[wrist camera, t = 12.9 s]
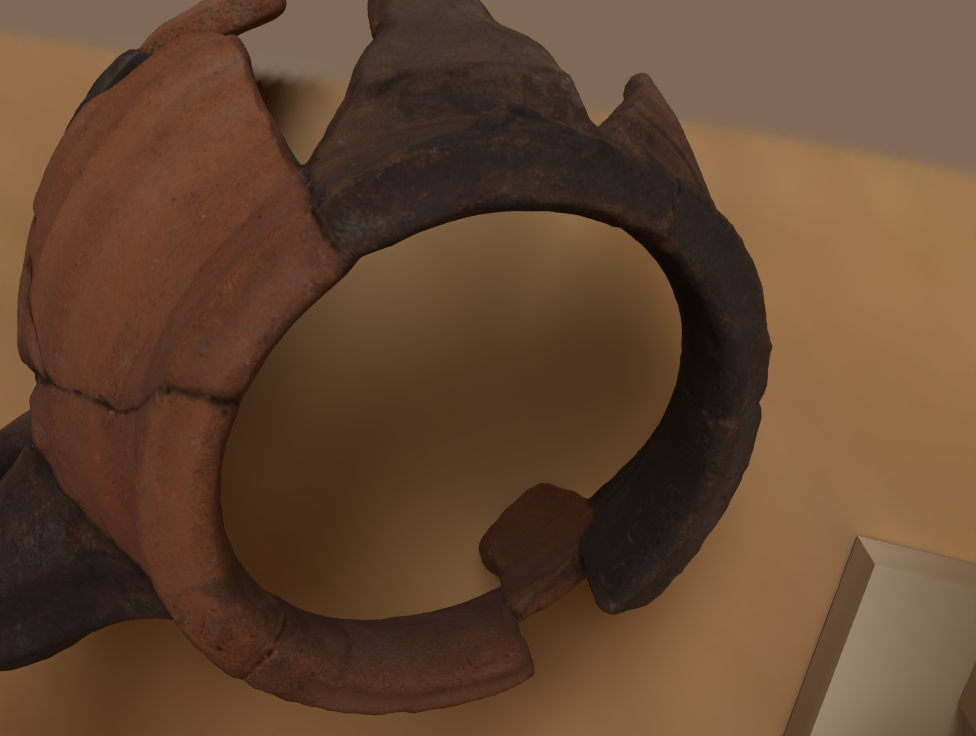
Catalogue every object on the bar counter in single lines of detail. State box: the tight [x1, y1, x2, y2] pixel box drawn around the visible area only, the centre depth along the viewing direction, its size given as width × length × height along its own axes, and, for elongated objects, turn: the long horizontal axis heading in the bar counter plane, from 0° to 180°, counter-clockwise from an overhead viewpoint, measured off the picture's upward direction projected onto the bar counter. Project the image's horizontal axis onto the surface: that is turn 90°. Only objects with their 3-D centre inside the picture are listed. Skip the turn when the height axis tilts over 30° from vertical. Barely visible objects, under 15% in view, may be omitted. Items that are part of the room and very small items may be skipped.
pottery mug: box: [0, 0, 772, 715], centre depth 13 cm, size 12×10×8 cm
